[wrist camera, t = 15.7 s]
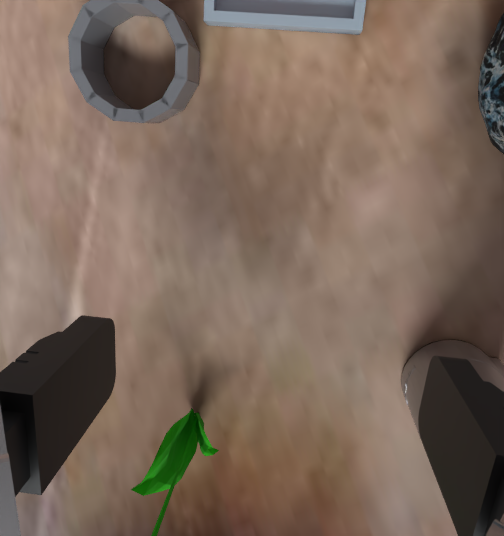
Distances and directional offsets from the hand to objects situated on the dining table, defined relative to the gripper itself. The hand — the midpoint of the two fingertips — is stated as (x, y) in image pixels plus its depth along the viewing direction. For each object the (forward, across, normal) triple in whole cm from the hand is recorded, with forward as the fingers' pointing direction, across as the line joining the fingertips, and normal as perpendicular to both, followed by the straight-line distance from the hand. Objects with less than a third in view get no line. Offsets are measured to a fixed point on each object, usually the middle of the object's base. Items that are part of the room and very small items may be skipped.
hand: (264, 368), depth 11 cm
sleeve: (+33, +14, -10) cm, 37 cm away
